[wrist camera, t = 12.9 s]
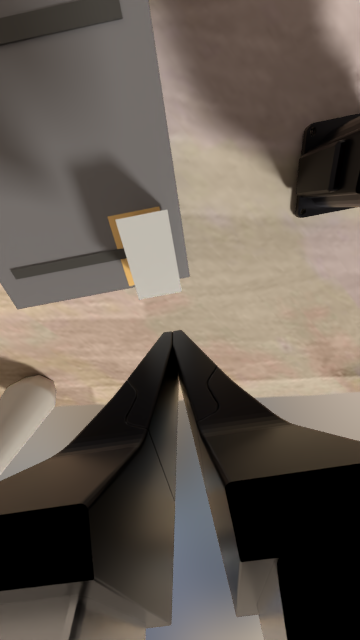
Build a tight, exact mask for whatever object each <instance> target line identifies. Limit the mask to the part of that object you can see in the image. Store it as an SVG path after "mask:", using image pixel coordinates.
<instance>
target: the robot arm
mask: <svg viewBox="0 0 360 640" xmlns="http://www.w3.org/2000/svg"><path fill="white" fill-rule="evenodd" d="M311 129H312V130H313V134H312V136H311V135H310V130H311ZM296 194H297V201H296V211H295V215H296V217H299V218H303V217H309V216H314V215H319V214H324V213H329V212H334V211H340V210H345V209H350V208H355V207H360V114H355V115H351V116H346V117H341V118H336V119H331V120H326V121H321V122H316V123H313V124H311V125H309V126H308V127H307V128H306V129H305V131H304V135H303V144H302V153H301V158H300V160H299V169H298V179H297V189H296ZM302 209H303V213H302V214H301V210H302ZM127 380H128V381H126V382H125V383H124V384H123V386H122V387H121V388H120V389H119V391H118V392H117V393H116V394H115V395H114V397H113V398H112V399H111V400H110V401H109V402H108V403H107V404H106V406H105V407H104V408H103V409H102V410H101V411H100V412H99V413H98V414H97V415H96V416H95V417H94V418H93V420H92V421H91V422H90V423H89V424H88V425H87V426H86V427H85V428H84V429H83V430H82V431H81V432H80V433H79V434H78V435H77V436H76V438H75V439H74V440H73V441H72V442H71V443H70V444H69V445H67V446H66V447H65V448H64V449H63V450H61V451H60V452H59V453H57V454H56V455H54V456H52V457H51V458H49V459H47V460H45V461H43V462H41V463H39V464H36V465H34V466H32V467H30V468H28V469H26V470H23V471H21V472H19V473H17V474H15V475H13V476H11V477H8V478H6V479H4V480H2V481H0V640H145V632H146V628H153V627H161V626H169V625H171V620H172V619H171V618H172V587H173V556H174V555H173V554H174V521H175V488H176V487H175V486H176V456H177V423H178V391H179V381H180V385H181V389H182V393H183V398H184V402H185V406H186V410H187V414H188V418H189V422H190V426H191V430H192V435H193V439H194V443H195V447H196V451H197V455H198V459H199V464H200V468H201V472H202V476H203V480H204V484H205V488H206V493H207V496H208V501H209V504H210V509H211V513H212V517H213V521H214V526H215V530H216V533H217V538H218V542H219V546H220V550H221V555H222V559H223V563H224V567H225V571H226V575H227V579H228V583H229V587H230V591H231V595H232V599H233V604H234V608H235V612H236V616H237V617H242V616H250V615H259V619H260V623H261V628H262V632H263V637H264V640H360V441H357V440H353V439H349V438H345V437H340V436H337V435H333V434H329V433H325V432H321V431H317V430H314V429H310V428H306V427H301V426H298V425H294V424H292V423H289V422H287V421H285V420H283V419H282V418H280V417H279V416H277V415H276V414H274V413H272V412H271V411H270V410H269V409H268V408H266V407H265V406H264V405H262V404H261V403H260V402H259V401H257V400H256V399H255V398H253V397H252V396H251V395H250V394H248V393H247V392H246V391H244V390H243V389H242V388H241V387H239V386H238V385H237V384H236V383H235V382H233V381H232V380H231V379H230V378H229V377H228V376H227V375H226V374H225V373H224V372H223V371H222V370H221V369H220V368H219V367H218V366H217V365H216V364H215V363H214V362H213V361H212V360H211V359H210V358H209V357H208V356H207V355H206V354H205V353H204V352H203V351H202V350H201V349H200V348H199V347H198V346H197V345H196V344H195V343H194V342H193V341H192V340H191V339H190V338H189V337H188V336H187V335H186V334H185V333H184V332H183V331H182V330H178V331H173V332H164V333H163V334H162V335H161V337H160V338H159V339H158V340H157V342H156V343H155V344H154V346H153V347H152V348H151V349H150V351H149V352H148V353H147V355H146V356H145V357H144V359H143V360H142V361H141V362H140V364H139V365H138V366H137V368H136V369H135V370H134V371H133V373H132V374H131V375H130V377H129V378H128V379H127Z"/></svg>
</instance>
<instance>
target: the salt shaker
mask: <svg viewBox="0 0 360 640" xmlns="http://www.w3.org/2000/svg"><path fill="white" fill-rule="evenodd" d="M55 403H56V388H55V385H54V382H53V381H52V380H50V379H47V378H45V377H43V376H41V375H36V376H30V377H26V378H24V379H22V380H20V381H18V382H16V383H14V384H12V385H10V386H9V387H8V388H6V390H5V391H4V393H3V395H2V396H1V398H0V475H1V473H2V472H3V471H4V470H5V468H6V467H7V466H8V464H9V463H10V462H11V461H12V459H13V458H14V457H15V456H16V454H17V453H18V452H19V451H20V450H21V448H22V447H23V445H25V443H26V442H27V441H28V439H29V438H30V437H31V436H32V434H33V433H34V432H35V431H36V429H37V428H38V427H39V426H40V424H41V423H42V422H43V421H44V419H45V418H46V417H47V416H48V414H49V413H50V412H51V411H52V409H53V408H54V406H55Z"/></svg>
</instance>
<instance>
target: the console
mask: <svg viewBox="0 0 360 640" xmlns="http://www.w3.org/2000/svg"><path fill="white" fill-rule="evenodd" d="M162 210H168V216H169V222H170V227H171V233H172V239H173V244H174V250H175V256H176V261H177V267H178V273H179V278H186V277H190V274H189V268H188V261H187V254H186V248H185V241H184V234H183V228H182V221H181V214H180V208H179V201H178V194H177V188H176V181H175V174H174V168H173V161H172V154H171V148H170V141H169V134H168V127H167V121H166V114H165V107H164V101H163V94H162V87H161V81H160V74H159V67H158V61H157V54H156V47H155V41H154V34H153V27H152V21H151V14H150V7H149V1H148V0H0V283H1V284H2V286H3V288H4V289H5V291H6V292H7V294H8V295H9V297H10V298H11V300H12V301H13V303H14V305H15V306H16V308H17V309H22V308H27V307H33V306H38V305H43V304H48V303H54V302H59V301H64V300H70V299H75V298H80V297H85V296H91V295H96V294H101V293H107V292H112V291H117V290H122V289H128V288H133V287H135V284H134V281H133V277H132V274H131V271H130V267H129V264H128V261H127V257H126V254H125V251H124V247H123V244H122V241H121V237H120V234H119V231H118V227H117V224H116V221H115V220H116V219H121V218H126V217H132V216H137V215H142V214H147V213H152V212H157V211H162Z"/></svg>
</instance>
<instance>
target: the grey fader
mask: <svg viewBox="0 0 360 640" xmlns="http://www.w3.org/2000/svg"><path fill="white" fill-rule="evenodd" d="M115 221H116V224H117V227H118V231H119V234H120V237H121V241H122V244H123V247H124V251H125V254H126V257H127V261H128V264H129V267H130V271H131V274H132V277H133V281H134V284H135V288H136V291H137V294H138V298H139V300H140V299H146V298H151V297H156V296H162V295H167V294H172V293H178V292H182V290H181V284H180V278H179V273H178V267H177V261H176V256H175V250H174V244H173V239H172V233H171V227H170V222H169V216H168V210H162V211H157V212H152V213H147V214H142V215H137V216H132V217H126V218H121V219H116V220H115Z"/></svg>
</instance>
